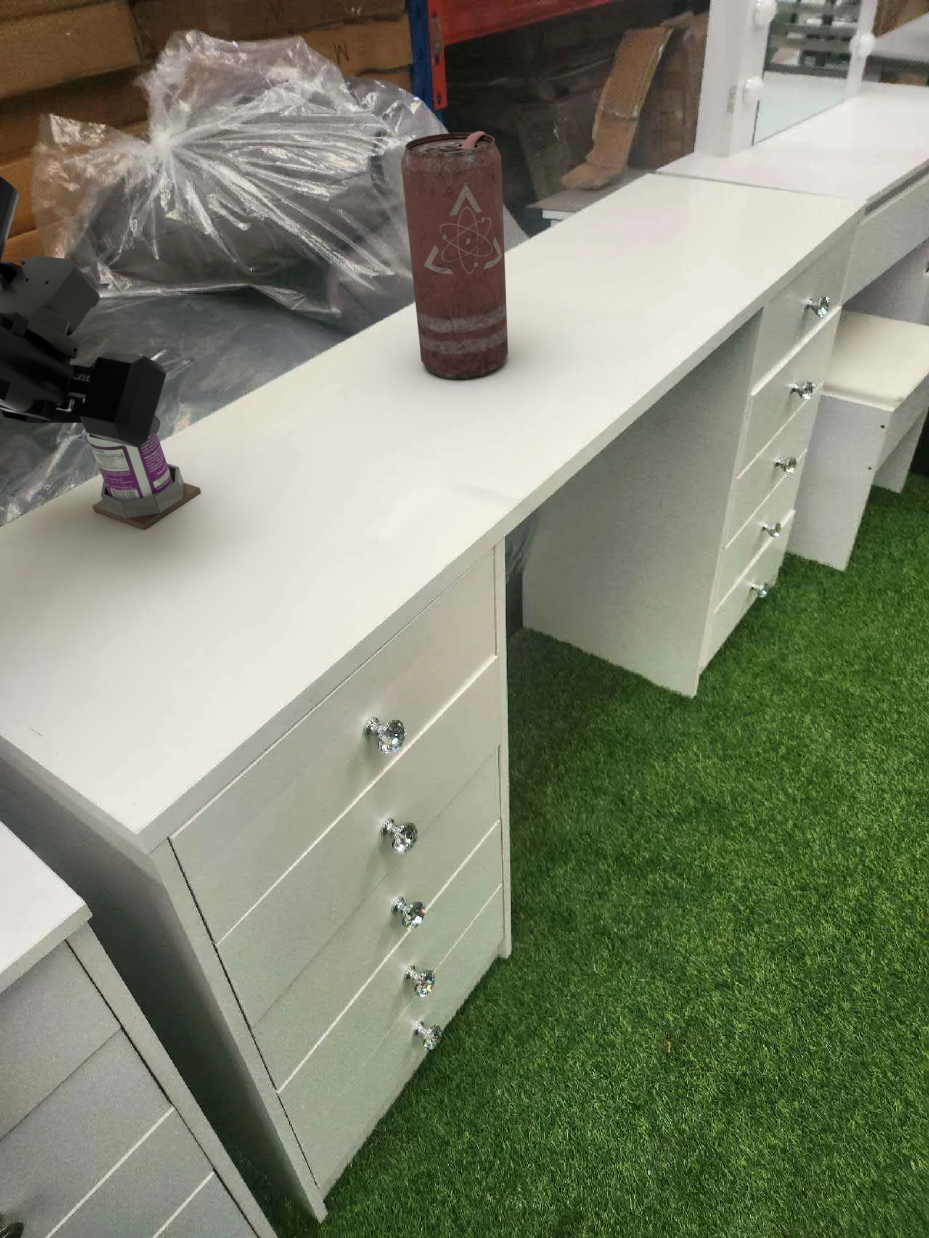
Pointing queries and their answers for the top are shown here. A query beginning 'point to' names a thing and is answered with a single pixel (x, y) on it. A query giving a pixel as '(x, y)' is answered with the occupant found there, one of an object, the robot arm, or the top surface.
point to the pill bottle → (131, 467)
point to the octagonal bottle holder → (148, 502)
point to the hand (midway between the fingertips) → (132, 422)
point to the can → (457, 252)
